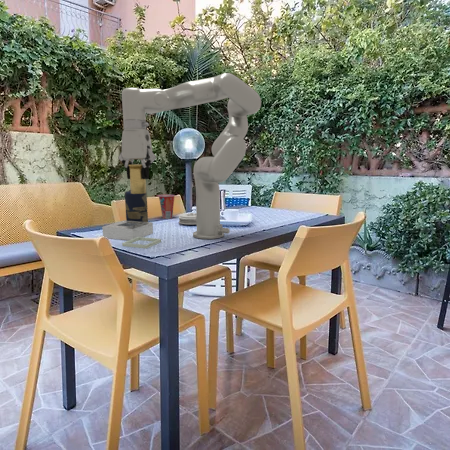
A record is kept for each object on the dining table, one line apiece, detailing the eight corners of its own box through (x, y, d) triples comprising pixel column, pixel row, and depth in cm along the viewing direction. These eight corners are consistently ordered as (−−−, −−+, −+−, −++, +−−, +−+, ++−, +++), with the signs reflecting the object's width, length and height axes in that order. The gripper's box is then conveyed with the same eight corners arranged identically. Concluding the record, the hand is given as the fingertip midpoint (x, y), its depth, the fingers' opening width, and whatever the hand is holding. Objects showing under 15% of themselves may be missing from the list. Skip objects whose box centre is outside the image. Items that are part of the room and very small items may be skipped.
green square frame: (161, 243, 132) (161, 238, 132) (146, 249, 123) (146, 245, 122) (138, 240, 135) (138, 236, 135) (122, 247, 126) (122, 242, 126)
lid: (174, 225, 166) (173, 215, 165) (186, 220, 178) (185, 211, 177) (198, 227, 162) (198, 216, 161) (209, 222, 173) (209, 212, 172)
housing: (153, 234, 147) (152, 222, 146) (133, 241, 134) (132, 229, 133) (124, 231, 151) (124, 220, 150) (103, 239, 139) (102, 226, 138)
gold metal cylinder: (150, 192, 128) (149, 164, 126) (140, 194, 122) (139, 164, 120) (136, 191, 130) (135, 164, 128) (126, 193, 125) (124, 164, 123)
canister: (142, 231, 153) (140, 189, 149) (122, 230, 155) (120, 189, 151) (151, 226, 162) (149, 187, 159) (132, 226, 164) (130, 187, 160)
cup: (167, 216, 191) (166, 193, 188) (178, 217, 186) (178, 194, 183) (154, 218, 183) (153, 195, 181) (166, 220, 178) (165, 196, 176)
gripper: (162, 126, 122) (164, 178, 125) (121, 128, 128) (125, 177, 132) (149, 124, 115) (152, 180, 119) (107, 126, 121) (111, 179, 125)
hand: (138, 178), depth 125 cm, fingers closed on gold metal cylinder, 5 cm apart
